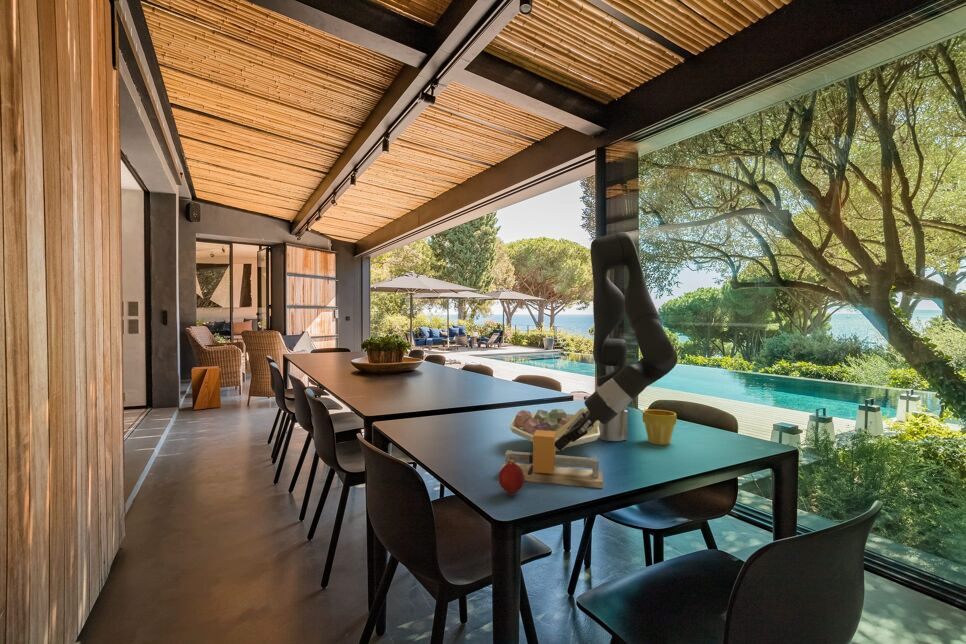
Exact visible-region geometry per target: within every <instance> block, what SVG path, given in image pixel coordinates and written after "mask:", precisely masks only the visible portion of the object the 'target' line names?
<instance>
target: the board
mask: <svg viewBox="0 0 966 644" xmlns="http://www.w3.org/2000/svg"><path fill="white" fill-rule="evenodd" d="M514 463H515V464H517V465H518V466H519V467H520V468H521V469H522V471H523V474H524V479H525V480H524V482H534V483H535V482H536V483H541V484H542V483H543V484H544V483H545V484H553V485H555V484H557V485H563V486H565V485H566V486H575V487H585V488H596V489H604V479H603V470H599V476H598V478H593V477H592V469H587V468H576V467H564V466H555V468H554V473H553V474H549V473H538V472H533V464H530V463H519V462H514ZM504 466H505V462H504V463H503V465H502V467H501V469H502V468H503V467H504ZM501 469H500V470H499V472H498V474H499V473H500V471H501Z"/></svg>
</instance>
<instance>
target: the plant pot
mask: <svg viewBox="0 0 966 644" xmlns="http://www.w3.org/2000/svg"><path fill="white" fill-rule="evenodd" d="M642 422H643V423H644V426H645V430H646V436H647V441H648V442H649V443H651V444H653V445H659V446H660V445H661V446H666V445H667V446H669V445H670V444H671V440H672V436H673V432H674V427H675V426H676V425H677V413H676V412H674V411H670V410H664V409H644V410H643V411H642Z"/></svg>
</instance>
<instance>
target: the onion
mask: <svg viewBox="0 0 966 644" xmlns="http://www.w3.org/2000/svg"><path fill="white" fill-rule="evenodd" d="M508 462H509V463H508V464H507V465H505V466H504V467H503V466H502V467H503V468H502V467H501V468H502V469H500V470H501V471H500V470H499V472H500V473H499V472H498V484H499V485H500V488H502V490H503V491H505V493H507V494H508V495H509V496H514V495H515V494H516V493H518V492H519V491H520V490H521V489H523V487H524V485H525V481H524V480H525V479H524V474H523V471H522V469H521V468H520V467H519V466H518V465H517V464H515V463H516V462H514V461H513V460H509V461H508Z"/></svg>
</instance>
